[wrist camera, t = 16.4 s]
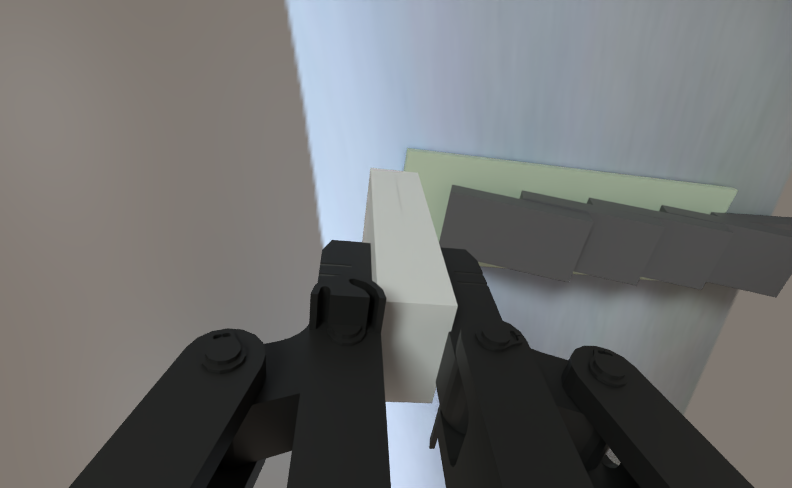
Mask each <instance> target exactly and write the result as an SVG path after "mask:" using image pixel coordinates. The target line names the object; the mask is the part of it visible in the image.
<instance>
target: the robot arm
mask: <svg viewBox="0 0 792 488" xmlns="http://www.w3.org/2000/svg"><path fill="white" fill-rule="evenodd" d="M482 274H483V273H482V270H481V268H480V266H479V263H478V261H477V260H476V259H475V258H474V257H473V256H472V255H471V254H470V253H469V252H468V251H467V250H466V249H455V248H442V247H440V245H439V242H438V238H437V235H436V232H435V228H434V225H433V222H432V218H431V215H430V212H429V208H428V205H427V202H426V198H425V195H424V192H423V188H422V185H421V182H420V178H419V175H418V173H415V172H406V171H396V170H386V169H377V168H371V169H370V178H369V186H368V195H367V204H366V213H365V222H364V231H363V240H362V242H351V241H338V240H331V242H330V243H329V244H328V245H327V246H326V247H325V248H324V249H323V250H322V256H321V263H320V270H319V277H318V283H317V284H316V285H315V286H314V288H313V290H312V292H311V299H310V321H309V325H308V326H307V328H305V329H304V330H303V331H302V332H300V333H299V334H297V335H295V336H293V337H291V338H288V339H285V340H281V341H277V342H272V343H267V344H263V342H262V341H261V340H260V339H259V338H258V337H257V336H256V335H255V334H252V333H249V332H247V331H245V330H240V329H222V330H217V331H212V332H210V333H207V334H205V335H203V336H200V337H198V338H197V339H196V340H194V341H193V342H192V343H191V344H190V345H188V346H187V347H186V348H185V349H184V351H183V352H182V353H181V354H180V355H179V357H178V358H177V359H176V360H175V361H174V362H173V364H172V365H171V366H170V368H168V370H167V371H166V372H165V373H164V374H163V376H162V377H161V378H160V379H159V381H158V382H157V383H156V384H155V385H154V386H153V388H152V389H151V390H150V391H149V392H148V394H147V395H146V396H145V397H144V398H143V400H142V401H141V402H140V403H139V404H138V405H137V407H136V408H135V409H134V410H133V411H132V413H131V414H130V415H129V416H128V417H127V419H126V420H125V421H124V422H123V423H122V425H121V426H120V427H119V428H118V429H117V431H116V432H115V433H114V434H113V435H112V436H111V438H110V439H109V440H108V441H107V443H106V444H105V445H104V446H103V447H102V449H101V450H100V451H99V452H98V453H97V454H96V456H95V457H94V458H93V459H92V460H91V462H90V463H89V464H88V465H87V466H86V468H85V469H84V470H83V471H82V472H81V473H80V475H79V476H78V477H77V478H76V480H75V481H74V482H73V483H72V484H71V486H70V487H69V488H253V486H254V484H255V482H256V480H257V478H258V476H259V473H260V471H261V469H262V467H263V465H264V463H265V460H266V458H269V457H272V456H275V455H279V454H282V453H285V452H289V451H292V455H291V462H290V469H289V477H288V484H287V488H391V482H390V466H389V451H388V435H387V419H386V404H385V402H412V403H432V401H433V397H434V393H435V389H436V387H437V392H438V397H439V403H440V405H439V408H438V412H437V416H436V419H435V423H434V426H433V430H432V433H431V437H430V446H429V449H434V448H435V445H436V442H437V438H438V442H439V448H440V454H441V460H442V466H443V472H444V478H445V484H446V488H754V487H753V486H752V485H751V484H750V483H749V482H748V481H747V480H746V479H745V478H744V477H743V476H742V475H741V474H740V473H739V472H738V471H737V470H736V469H735V468H734V467H733V466H732V465H731V464H730V463H729V462H728V461H727V460H726V459H725V458H724V457H723V455H722V454H720V453H719V451H718V450H717V449H716V448H715V447H714V446H712V444H711V443H710V442H709V441H708V440H707V439H706V438H705V437H704V436H703V435H702V434H701V433H700V432H699V431H698V430H697V429H696V428H695V427H694V426H693V425H692V424H691V423H690V422H689V421H688V420H687V419H686V418H685V417H684V416H683V415H682V414H681V413H680V412H679V411H678V410H677V409H676V408H675V407H674V406H673V405H672V404H671V403H670V402H669V401H668V400H667V399H666V398H665V397H664V396H663V395H662V394H661V393H660V392H659V391H658V390H657V389H656V388H655V387H654V386H653V385H652V384H651V383H650V382H649V381H648V380H647V379H646V378H645V377H644V375H643V374H642V373H641V372H640V371H639V370H638V369H637V368H636V367H635V366H633V365H632V364H631V363H630V362H628V361H627V360H626V359H625V358H624V357H622V356H620V355H618V354H616V353H614V352H612V351H610V350H608V349H604V348H601V347H597V346H582V347H580V348H577V349H575V350H574V352H573V354H572V355H571V357H570V359H569V360H566V359H562V358H559V357H555V356H552V355H548V354H545V353H542V352H539V351H536V350H534V349H531V348H530V347H529V345H528V342H527V340H526V339H525V338H524V336H523V335H522V333H521V332H520V331H519V330H517V329H516V328H515V327H513V326H512V325H511V324H509V323H507V322H504V321H502V318H501V316H500V313H499V311H498V309H497V306H496V304H495V301H494V299H493V297H492V294H491V292H490V289H489V287H488V286H487V282H486V280H485V278H484V276H483V275H482ZM609 448H610V449H611V450H612V451H613V453H614V454H615V455H616V457H617V458H618V459H619V461H620V462H621V463H620V465H619V466H618V465H617V464H615V463H613V462H612V461H611V460H610V459H609V458H608V456H607V455H606V453H607V451H608V450H609Z"/></svg>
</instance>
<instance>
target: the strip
mask: <svg viewBox="0 0 792 488" xmlns="http://www.w3.org/2000/svg"><path fill="white" fill-rule="evenodd" d="M404 171H406V172H415V173H418V175H419V178H420V182H421V185H422V188H423V192H424V195H425V198H426V202H427V205H428V208H429V212H430V215H431V218H432V222H433V225H434V228H435V232H436V235H437V238H438V242H439V240H440V236H441V232H442V227H443V223H444V218H445V214H446V209H447V205H448V200H449V196H450V191H451V188H452V185H457V186H462V187H466V188H471V189H476V190H481V191H485V192H490V193H495V194H499V195H504V196H509V197H514V198H518V199H519V198H520V195H521V192H522V190H523V191H528V192H533V193H538V194H542V195H547V196H552V197H557V198H562V199H567V200H572V201H577V202H581V203H586V204H587V201H588V199H589V198H594V199H599V200H605V201H610V202H615V203H620V204H625V205H630V206H635V207H640V208H645V209H650V210H655V211H659V210H660V208H661V206H662V205H665V206H670V207H675V208H680V209H685V210H690V211H695V212H700V213H705V214H711V212H719V213H726V211H727V209H728V208H729V206H730V204H731V202H732V200H733V199H734V197H735V195H736V193H737V192H738V190H736V189H734V188H731V187H723V186H715V185H706V184H698V183H690V182H682V181H674V180H665V179H657V178H649V177H641V176H633V175H624V174H616V173H608V172H600V171H592V170H583V169H575V168H567V167H559V166H551V165H542V164H534V163H526V162H518V161H510V160H501V159H493V158H485V157H477V156H469V155H460V154H452V153H444V152H436V151H428V150H419V149H411V148H407V153H406V159H405V165H404ZM478 263H479V266H484V267H496V268H504V267H499V266H495V265H491V264H486V263H482V262H478ZM573 274H582V275H587V274H583V273H578V272H574V271H573ZM640 279H643V280H654V279H649V278H644V277H640ZM655 281H658V280H655Z"/></svg>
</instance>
